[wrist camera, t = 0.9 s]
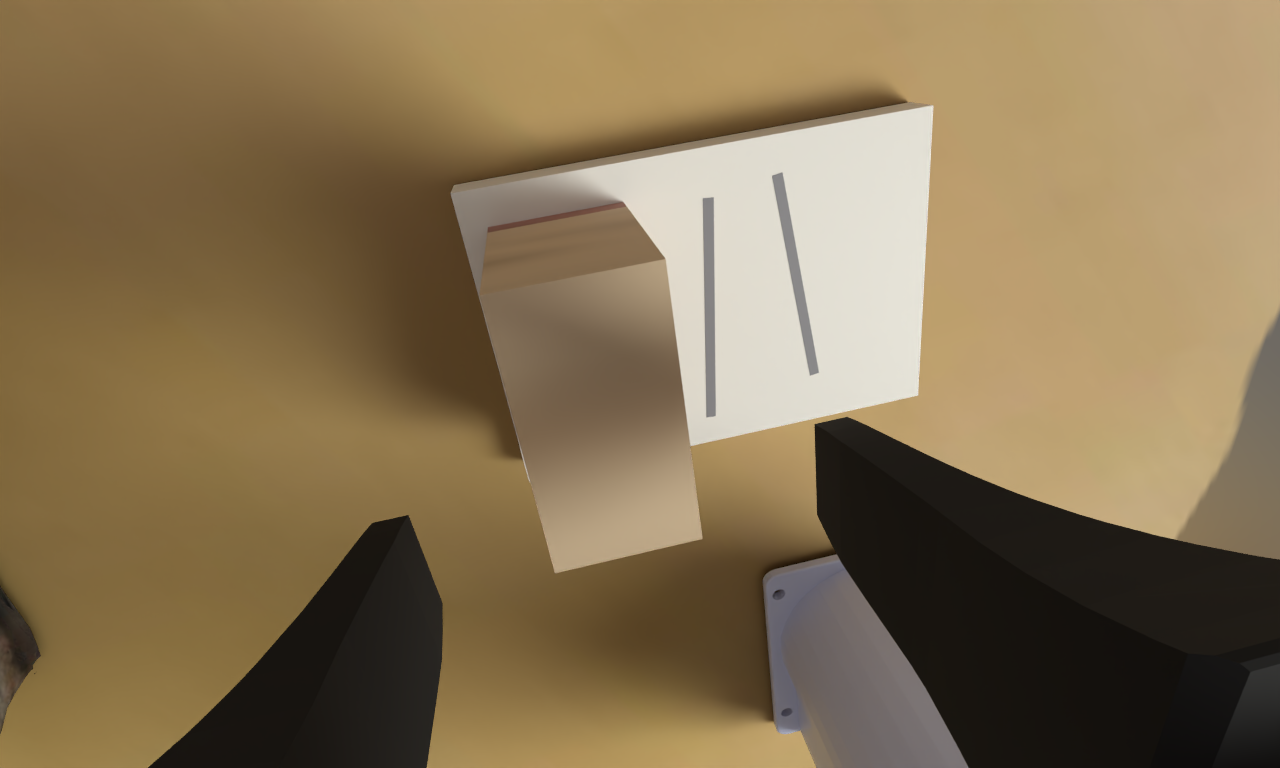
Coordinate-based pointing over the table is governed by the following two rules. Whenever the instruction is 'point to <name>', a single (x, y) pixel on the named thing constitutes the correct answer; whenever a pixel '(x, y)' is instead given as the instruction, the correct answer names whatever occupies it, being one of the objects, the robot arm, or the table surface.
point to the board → (765, 258)
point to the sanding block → (593, 382)
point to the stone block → (13, 652)
